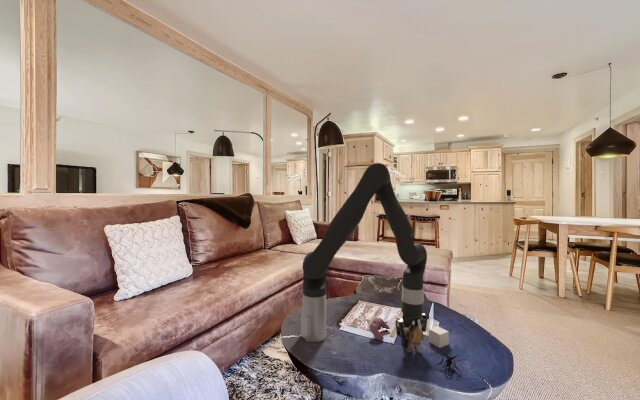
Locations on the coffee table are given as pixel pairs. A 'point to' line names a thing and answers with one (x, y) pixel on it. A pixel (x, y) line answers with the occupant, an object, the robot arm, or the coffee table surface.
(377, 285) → the coffee table surface
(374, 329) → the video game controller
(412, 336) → the lion figurine
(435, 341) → the beige block
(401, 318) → the birch block
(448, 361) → the creature
